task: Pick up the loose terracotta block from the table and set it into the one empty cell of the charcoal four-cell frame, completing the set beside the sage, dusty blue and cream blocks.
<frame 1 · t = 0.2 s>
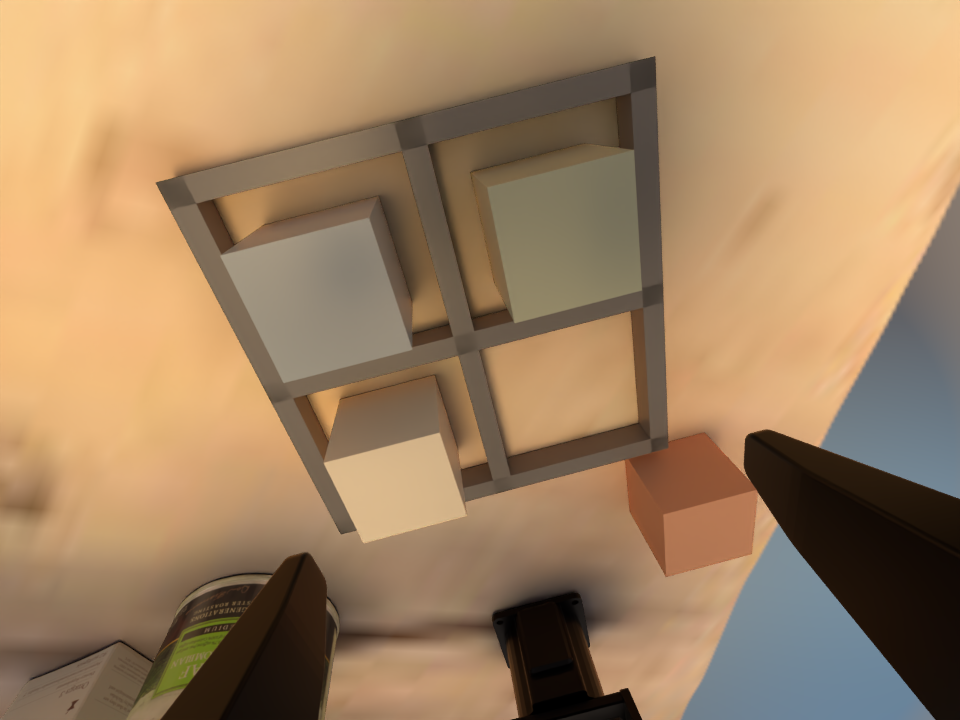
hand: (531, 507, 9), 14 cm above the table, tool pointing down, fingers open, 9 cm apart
supplement box: (116, 681, 32), on the table
charcoal frame: (463, 330, 23), on the table
coffee can: (260, 623, 31), on the table
terracotta block: (665, 472, 29), on the table
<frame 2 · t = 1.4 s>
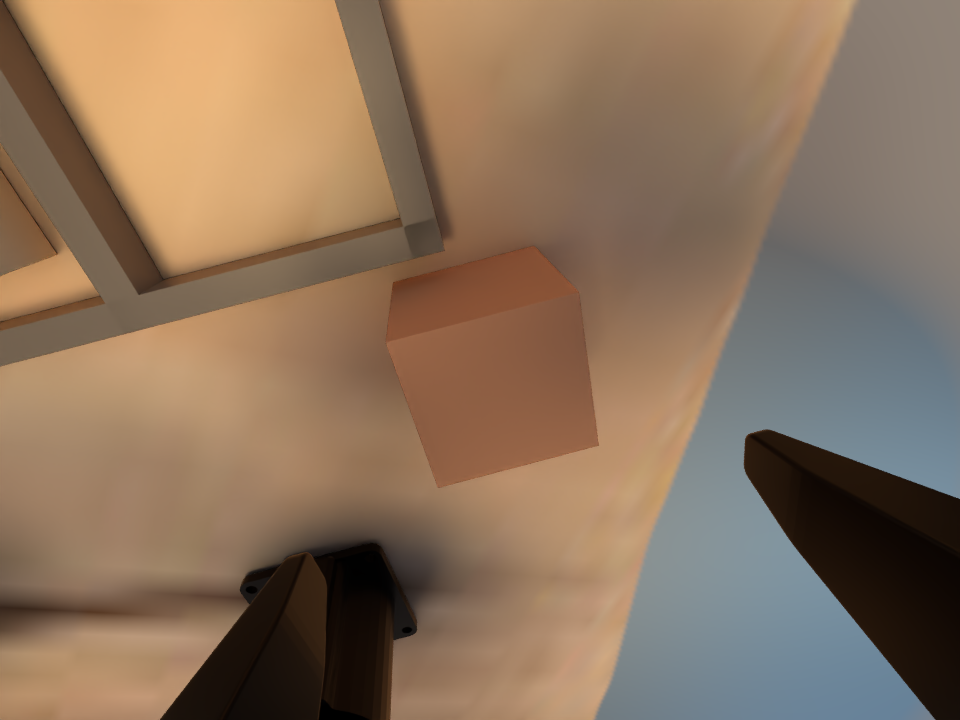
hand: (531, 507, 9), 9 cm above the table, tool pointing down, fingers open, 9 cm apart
terracotta block: (479, 327, 17), on the table
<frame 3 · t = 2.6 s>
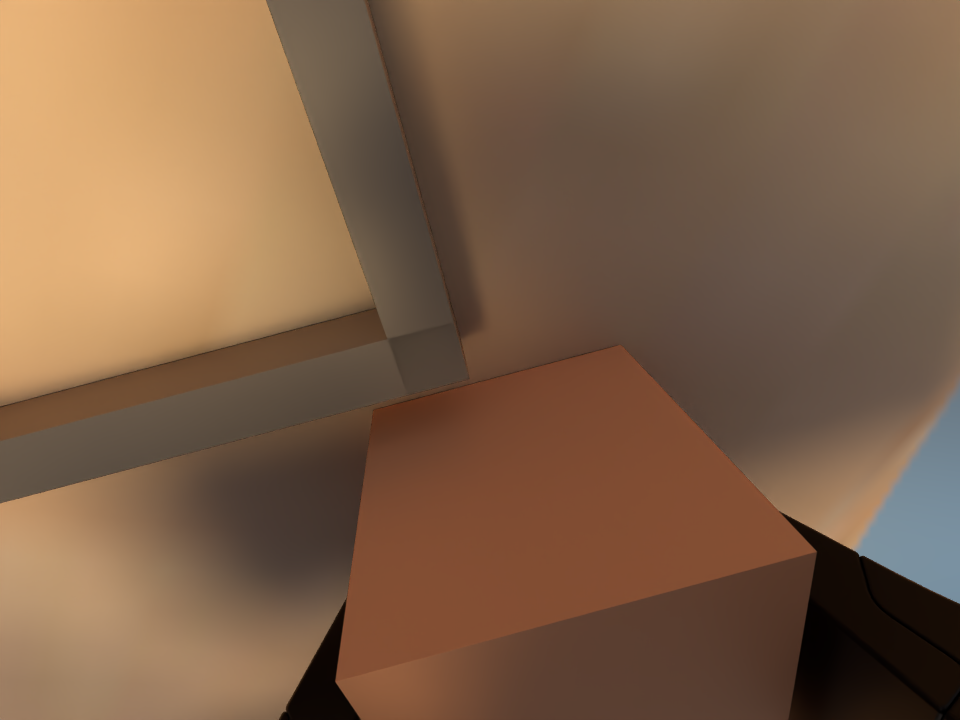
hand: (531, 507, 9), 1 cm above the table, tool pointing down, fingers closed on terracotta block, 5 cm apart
terracotta block: (520, 472, 10), on the table, touching gripper
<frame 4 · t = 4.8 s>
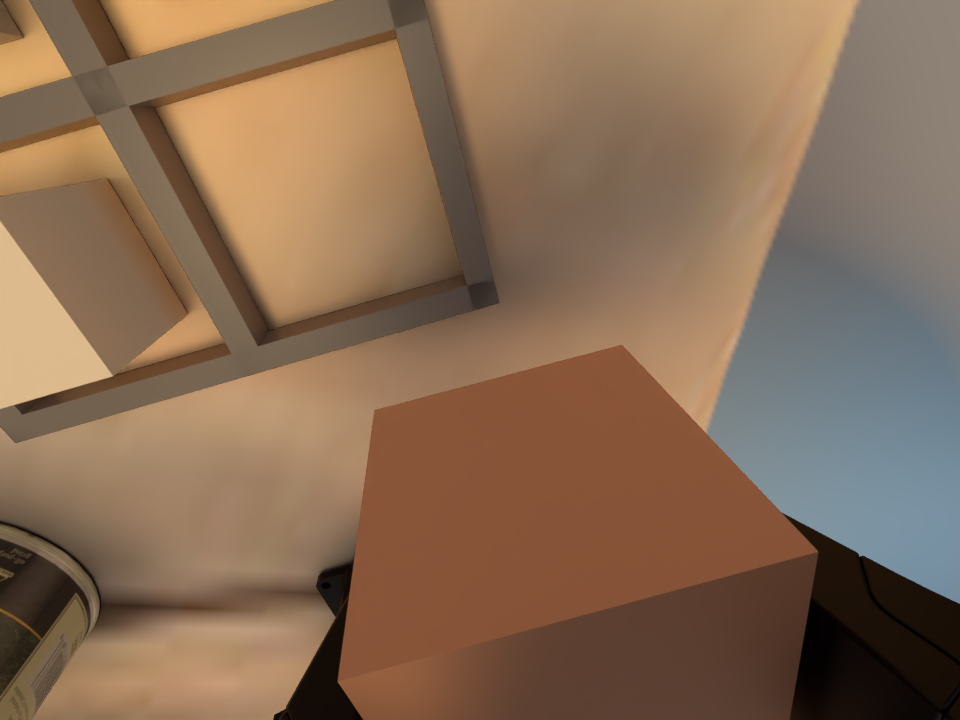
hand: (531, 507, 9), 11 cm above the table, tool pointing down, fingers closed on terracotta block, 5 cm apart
charcoal frame: (129, 94, 15), on the table
terracotta block: (521, 472, 10), point 10 cm above the table, touching gripper
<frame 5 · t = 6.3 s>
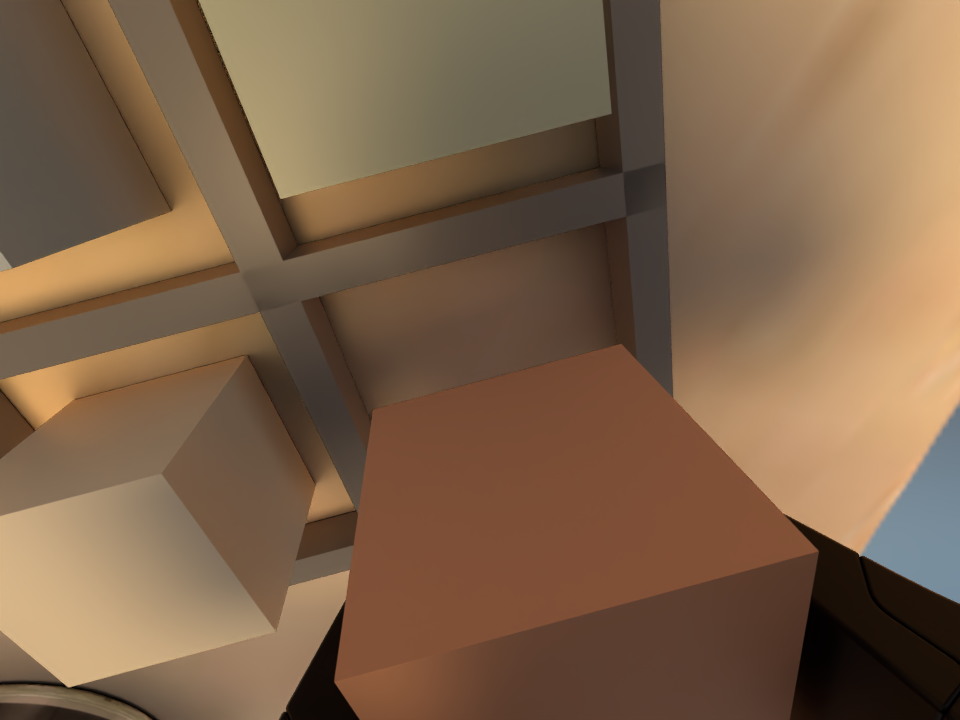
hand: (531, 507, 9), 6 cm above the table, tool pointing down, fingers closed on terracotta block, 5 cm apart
charcoal frame: (286, 269, 12), on the table
terracotta block: (520, 472, 10), point 5 cm above the table, touching gripper
when the fingers open (2 cm above the table, at t = 7.3 s): terracotta block drops 2 cm, resting in charcoal frame.
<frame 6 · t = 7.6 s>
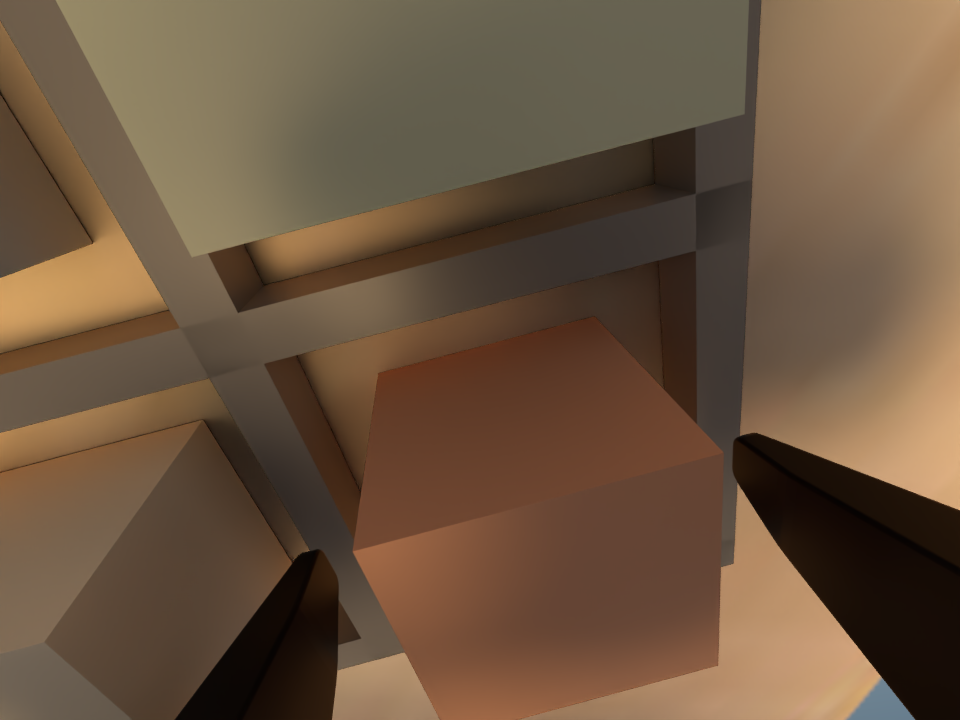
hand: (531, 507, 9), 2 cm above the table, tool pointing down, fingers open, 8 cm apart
charcoal frame: (250, 315, 9), on the table
terracotta block: (507, 430, 12), resting in charcoal frame
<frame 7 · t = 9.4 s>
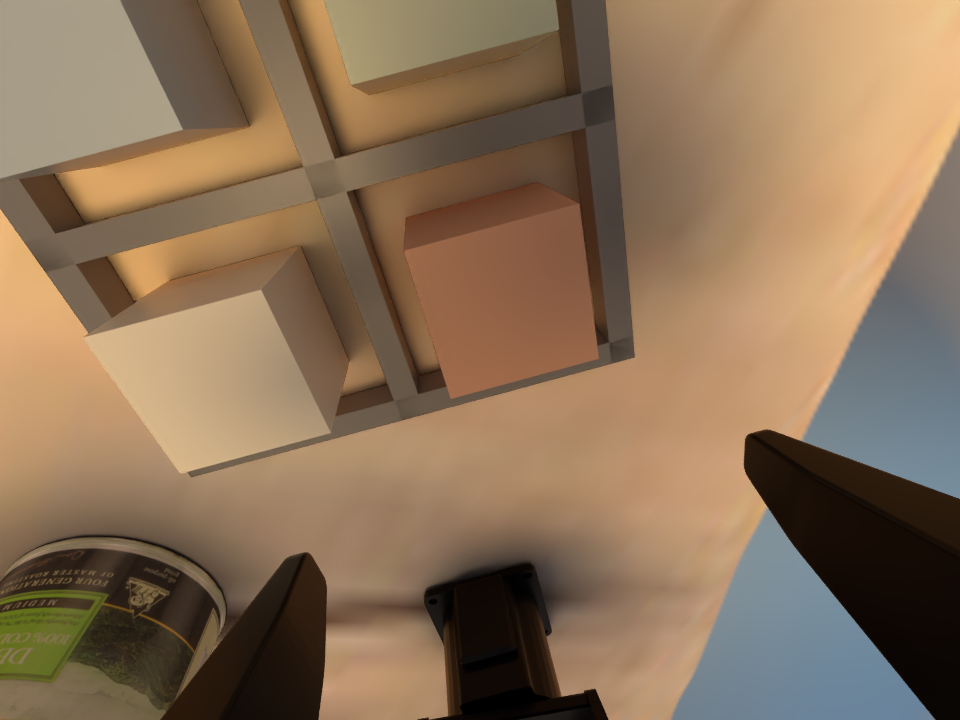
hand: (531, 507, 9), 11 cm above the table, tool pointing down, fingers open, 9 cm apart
charcoal frame: (332, 174, 16), on the table
coffee can: (122, 602, 24), on the table
terracotta block: (486, 264, 18), resting in charcoal frame
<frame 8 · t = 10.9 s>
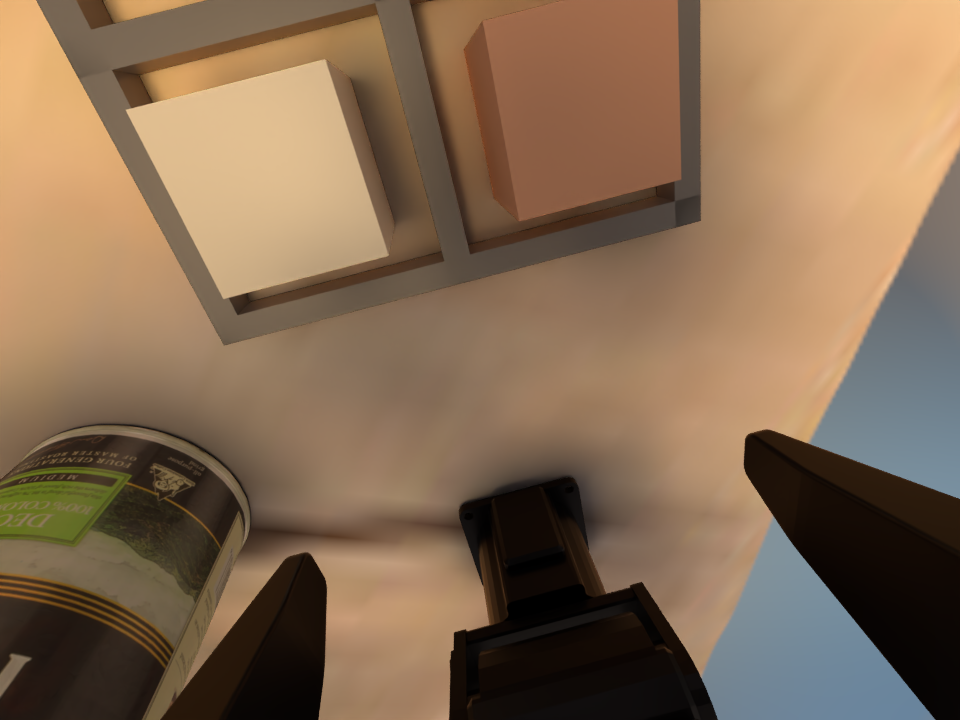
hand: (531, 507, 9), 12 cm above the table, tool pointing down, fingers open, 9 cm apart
coffee can: (140, 508, 23), on the table
terracotta block: (545, 112, 17), resting in charcoal frame
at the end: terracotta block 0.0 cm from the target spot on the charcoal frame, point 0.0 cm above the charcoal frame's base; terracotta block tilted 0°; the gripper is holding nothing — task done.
